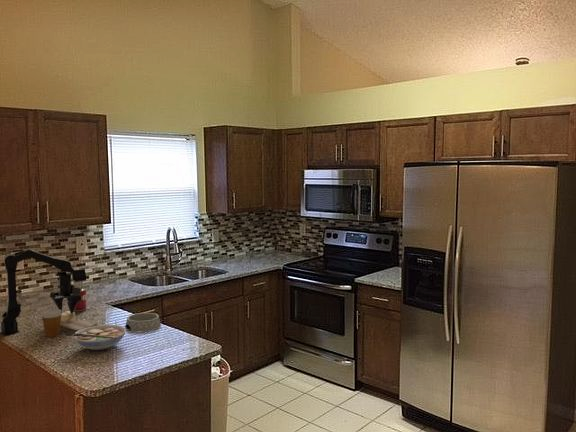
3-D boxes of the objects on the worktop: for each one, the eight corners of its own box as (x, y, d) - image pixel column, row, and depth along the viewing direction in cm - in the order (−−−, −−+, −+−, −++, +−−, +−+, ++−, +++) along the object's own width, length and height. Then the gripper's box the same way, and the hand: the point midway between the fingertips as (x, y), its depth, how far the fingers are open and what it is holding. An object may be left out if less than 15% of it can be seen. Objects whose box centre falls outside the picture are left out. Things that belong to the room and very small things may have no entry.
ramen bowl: (138, 341, 235) (137, 324, 234) (110, 359, 213) (110, 340, 212) (91, 337, 241) (91, 321, 240) (60, 354, 219) (59, 336, 218)
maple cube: (65, 326, 258) (65, 315, 258) (58, 324, 261) (57, 313, 261) (75, 323, 263) (75, 312, 263) (68, 321, 266) (67, 310, 266)
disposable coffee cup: (42, 333, 247) (41, 309, 246) (63, 330, 251) (62, 307, 250) (41, 339, 238) (40, 315, 237) (62, 336, 242) (61, 312, 241)
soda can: (72, 312, 284) (71, 291, 283) (74, 308, 291) (73, 288, 290) (86, 311, 286) (85, 290, 285) (87, 307, 293) (86, 288, 292)
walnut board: (77, 334, 246) (77, 330, 246) (61, 330, 252) (61, 326, 252) (97, 327, 256) (97, 323, 256) (82, 323, 262) (81, 320, 262)
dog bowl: (149, 319, 271) (148, 309, 271) (166, 326, 258) (166, 316, 258) (119, 326, 259) (119, 316, 259) (136, 334, 246) (136, 324, 246)
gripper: (89, 282, 262) (90, 310, 264) (67, 278, 272) (68, 306, 273) (71, 286, 253) (72, 316, 254) (48, 282, 262) (50, 310, 264)
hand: (66, 312), depth 262 cm, fingers open, 9 cm apart
